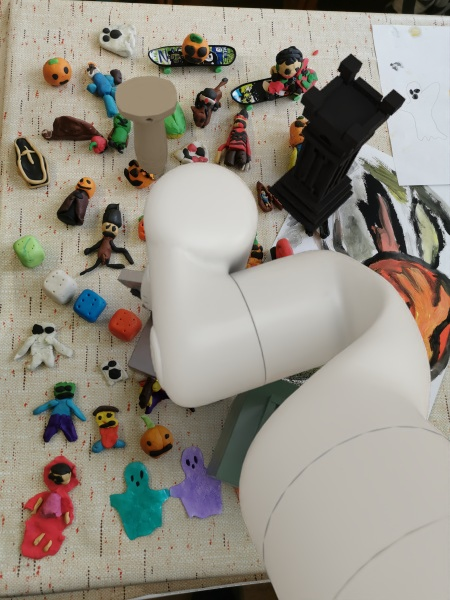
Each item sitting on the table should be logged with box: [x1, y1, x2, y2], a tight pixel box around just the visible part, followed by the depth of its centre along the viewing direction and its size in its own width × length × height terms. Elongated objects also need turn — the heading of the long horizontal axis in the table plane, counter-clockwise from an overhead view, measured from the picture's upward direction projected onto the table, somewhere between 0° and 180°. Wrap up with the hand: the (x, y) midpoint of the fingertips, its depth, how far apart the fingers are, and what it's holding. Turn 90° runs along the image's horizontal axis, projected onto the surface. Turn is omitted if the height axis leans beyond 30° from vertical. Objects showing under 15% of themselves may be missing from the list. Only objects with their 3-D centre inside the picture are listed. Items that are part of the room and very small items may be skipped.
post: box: [204, 378, 301, 490], centre depth 53 cm, size 9×9×22 cm
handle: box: [114, 75, 178, 180], centre depth 65 cm, size 5×6×15 cm
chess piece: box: [267, 53, 407, 235], centre depth 64 cm, size 8×8×20 cm
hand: (193, 324), depth 63 cm, fingers open, 7 cm apart
